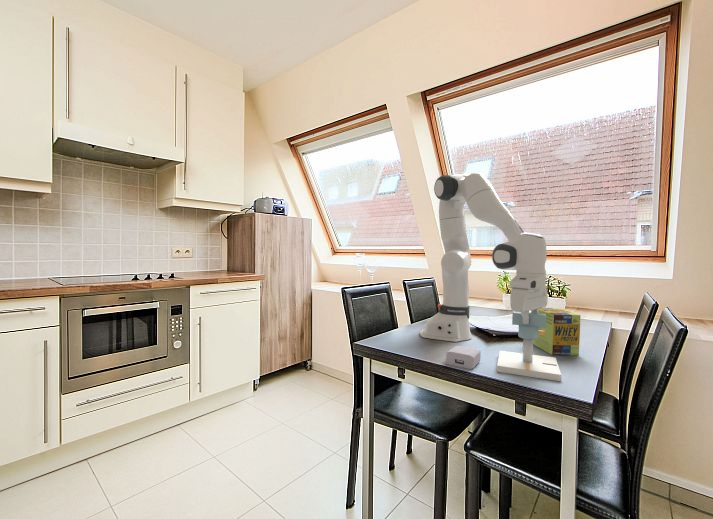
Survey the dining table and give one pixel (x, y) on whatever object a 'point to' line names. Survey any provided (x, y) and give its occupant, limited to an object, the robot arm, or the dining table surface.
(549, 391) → the dining table surface
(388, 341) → the dining table surface
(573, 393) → the dining table surface
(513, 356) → the post base
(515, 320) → the coupling
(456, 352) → the charger
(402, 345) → the dining table surface
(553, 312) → the protein box
